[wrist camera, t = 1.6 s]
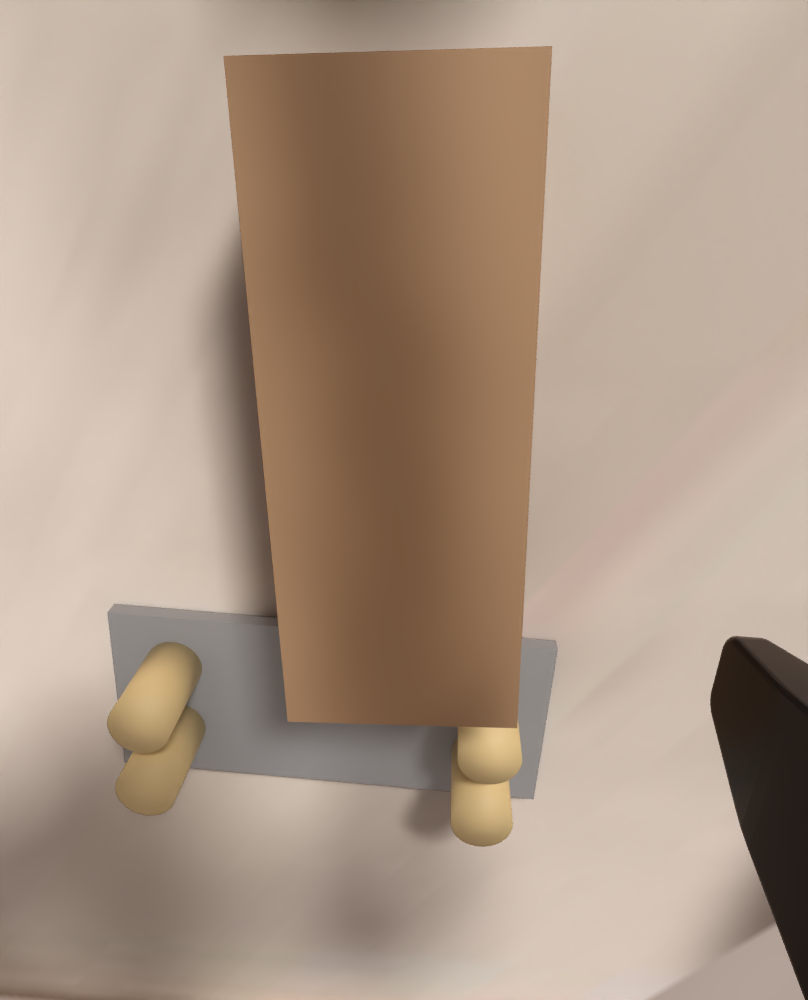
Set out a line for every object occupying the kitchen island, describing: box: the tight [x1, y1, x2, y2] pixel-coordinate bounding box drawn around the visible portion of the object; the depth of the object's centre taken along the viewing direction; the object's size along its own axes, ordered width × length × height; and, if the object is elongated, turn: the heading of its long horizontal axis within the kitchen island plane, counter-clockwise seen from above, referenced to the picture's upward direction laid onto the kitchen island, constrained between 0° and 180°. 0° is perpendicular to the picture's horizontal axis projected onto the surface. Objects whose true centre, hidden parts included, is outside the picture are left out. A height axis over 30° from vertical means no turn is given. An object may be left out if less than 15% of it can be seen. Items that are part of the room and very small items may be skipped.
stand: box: [107, 604, 558, 846], centre depth 24 cm, size 14×6×4 cm, turn 87°
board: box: [224, 46, 552, 728], centre depth 18 cm, size 6×14×6 cm, turn 1°
